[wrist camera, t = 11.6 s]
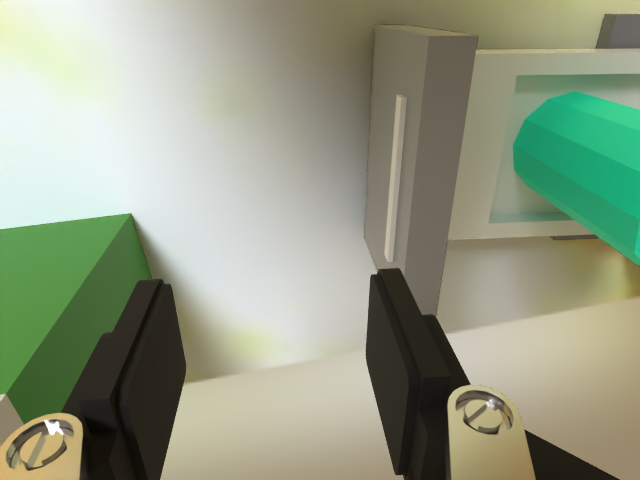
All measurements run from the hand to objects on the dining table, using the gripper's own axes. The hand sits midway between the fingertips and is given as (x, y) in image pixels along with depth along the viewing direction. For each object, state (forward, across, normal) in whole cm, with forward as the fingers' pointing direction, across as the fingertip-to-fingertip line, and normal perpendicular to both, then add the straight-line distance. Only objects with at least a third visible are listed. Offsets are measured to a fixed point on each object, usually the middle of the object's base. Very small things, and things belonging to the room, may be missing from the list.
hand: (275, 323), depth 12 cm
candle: (+15, -17, 0) cm, 23 cm away
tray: (+17, -15, 0) cm, 23 cm away
